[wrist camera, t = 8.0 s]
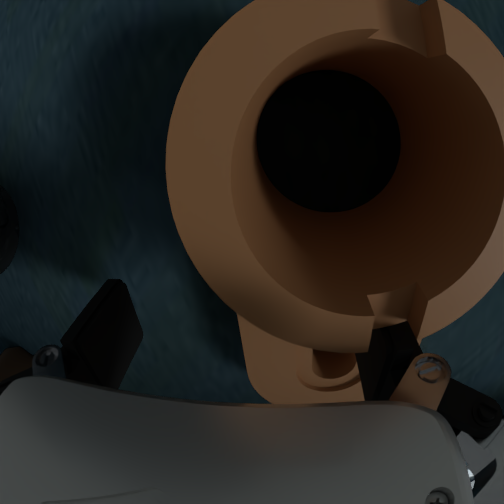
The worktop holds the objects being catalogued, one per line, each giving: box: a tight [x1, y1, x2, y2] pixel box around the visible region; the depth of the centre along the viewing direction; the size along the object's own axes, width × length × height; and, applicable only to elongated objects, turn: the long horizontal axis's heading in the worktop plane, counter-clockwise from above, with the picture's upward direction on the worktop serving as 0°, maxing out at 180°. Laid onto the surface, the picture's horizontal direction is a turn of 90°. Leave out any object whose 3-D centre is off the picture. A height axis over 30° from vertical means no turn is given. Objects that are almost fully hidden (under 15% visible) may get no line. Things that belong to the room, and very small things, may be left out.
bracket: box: [166, 0, 504, 404], centre depth 10 cm, size 18×8×7 cm, turn 6°
